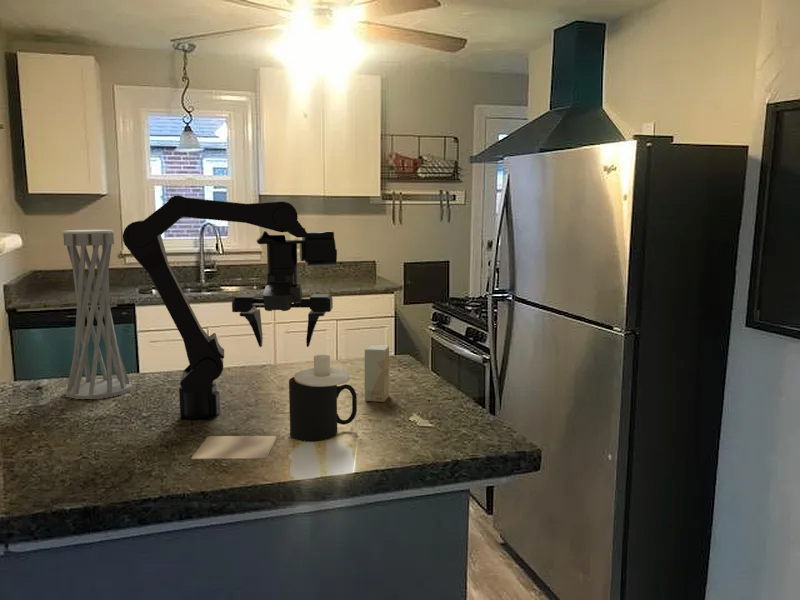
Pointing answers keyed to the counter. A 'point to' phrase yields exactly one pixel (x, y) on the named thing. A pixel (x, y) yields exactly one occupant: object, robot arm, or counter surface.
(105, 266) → the vase
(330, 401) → the mug
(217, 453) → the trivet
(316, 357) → the lid
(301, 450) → the counter surface
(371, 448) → the counter surface
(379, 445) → the counter surface
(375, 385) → the box
